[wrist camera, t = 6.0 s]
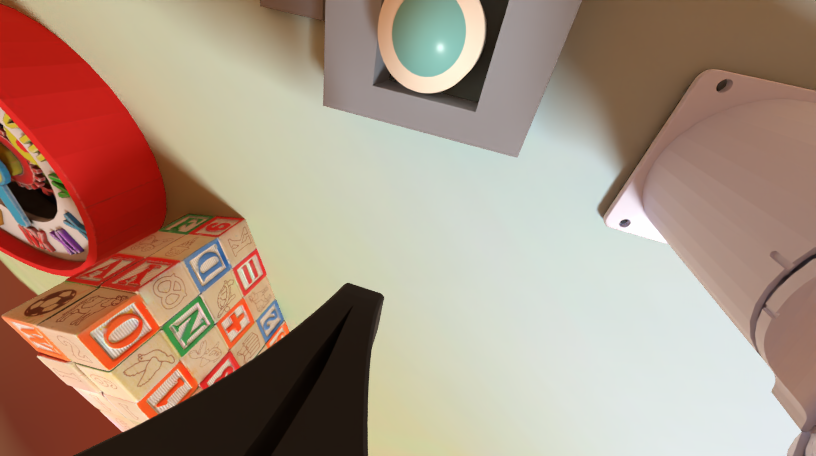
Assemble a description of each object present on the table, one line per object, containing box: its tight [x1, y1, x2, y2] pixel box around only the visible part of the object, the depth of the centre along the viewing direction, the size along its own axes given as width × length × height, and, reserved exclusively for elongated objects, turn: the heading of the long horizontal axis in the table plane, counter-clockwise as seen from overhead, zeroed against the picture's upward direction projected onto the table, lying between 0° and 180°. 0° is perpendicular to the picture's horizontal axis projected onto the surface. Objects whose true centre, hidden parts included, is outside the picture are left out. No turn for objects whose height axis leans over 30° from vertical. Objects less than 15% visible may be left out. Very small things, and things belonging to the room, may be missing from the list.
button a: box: [378, 0, 487, 93], centre depth 13 cm, size 4×4×4 cm
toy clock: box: [0, 4, 167, 277], centre depth 24 cm, size 20×6×20 cm
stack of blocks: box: [2, 214, 289, 432], centre depth 26 cm, size 21×6×12 cm, turn 4°
